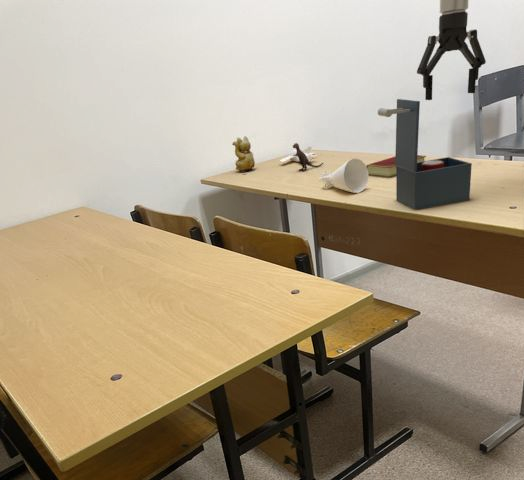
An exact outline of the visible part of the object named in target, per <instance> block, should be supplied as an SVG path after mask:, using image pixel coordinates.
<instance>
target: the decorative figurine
mask: <svg viewBox="0 0 524 480" xmlns="http://www.w3.org/2000/svg"><path fill="white" fill-rule="evenodd" d="M231 145H232V146H234V147H235V148H234V154H235V156H236V158H238V159H237V160H235V170H237V171H238V172H239V173H246V172H250V171H253V168H255V164H256V162H255V158H254V154H253V152H252V150H251V145H252V144H251V142H250V140H249V138H248V137H247V136H246V135H244V136H243V139H242V138H241V137H236V141H233V142H232V143H231Z"/></svg>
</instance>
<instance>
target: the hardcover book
mask: <svg viewBox="0 0 524 480" xmlns="http://www.w3.org/2000/svg"><path fill="white" fill-rule="evenodd" d="M426 157H427V156H426V155H420V154H417V162H423V161H425V158H426ZM365 165H366V167H367V169H368V176H369V177H378V178H387V179H389V178H393V177H396V166H398V165H395V156H392V157H388V158H385V159H382V160H377V161H375V162H372V163H369V164H365Z"/></svg>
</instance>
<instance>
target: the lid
mask: <svg viewBox="0 0 524 480" xmlns="http://www.w3.org/2000/svg"><path fill="white" fill-rule="evenodd" d="M420 106H421V101H420V100H413V99H402V98H397V99H396V108H391V109H390V108H384V107H380V108H379V109H378V110H377V115H378V116H380V117H385V118H390V117H392V116H393V115H396V118H395V119H396V121H395V123H396V124H395V155H394V157H395V165H398V166H401V167H403V168H406V169H409V170H411V171H414V172H415V171H417V155H419V154H418V151H419V129H420Z"/></svg>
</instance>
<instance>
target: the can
mask: <svg viewBox="0 0 524 480" xmlns="http://www.w3.org/2000/svg"><path fill="white" fill-rule="evenodd" d="M432 160H433V161H428V160H425V161H426V162H424V163H422V171H427V170H433V169H439V168H444V162H443V161H439V160H434V159H432Z"/></svg>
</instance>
